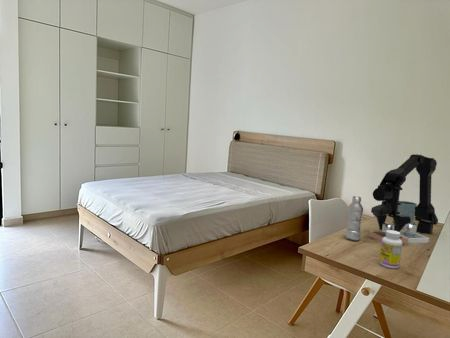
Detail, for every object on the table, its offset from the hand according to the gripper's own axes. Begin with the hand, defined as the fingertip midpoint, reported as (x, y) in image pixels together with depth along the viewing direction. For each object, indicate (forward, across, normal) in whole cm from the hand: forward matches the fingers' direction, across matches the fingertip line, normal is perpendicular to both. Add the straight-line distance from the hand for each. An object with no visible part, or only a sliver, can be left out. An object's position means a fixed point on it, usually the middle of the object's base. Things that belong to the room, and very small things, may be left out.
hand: (387, 232), depth 145 cm
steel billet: (+3, 0, 0) cm, 3 cm away
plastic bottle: (+4, -3, -16) cm, 17 cm away
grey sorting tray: (+4, 0, +6) cm, 7 cm away
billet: (+3, 0, +12) cm, 12 cm away
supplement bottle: (+4, +25, -20) cm, 32 cm away
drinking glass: (+4, -29, +36) cm, 46 cm away
